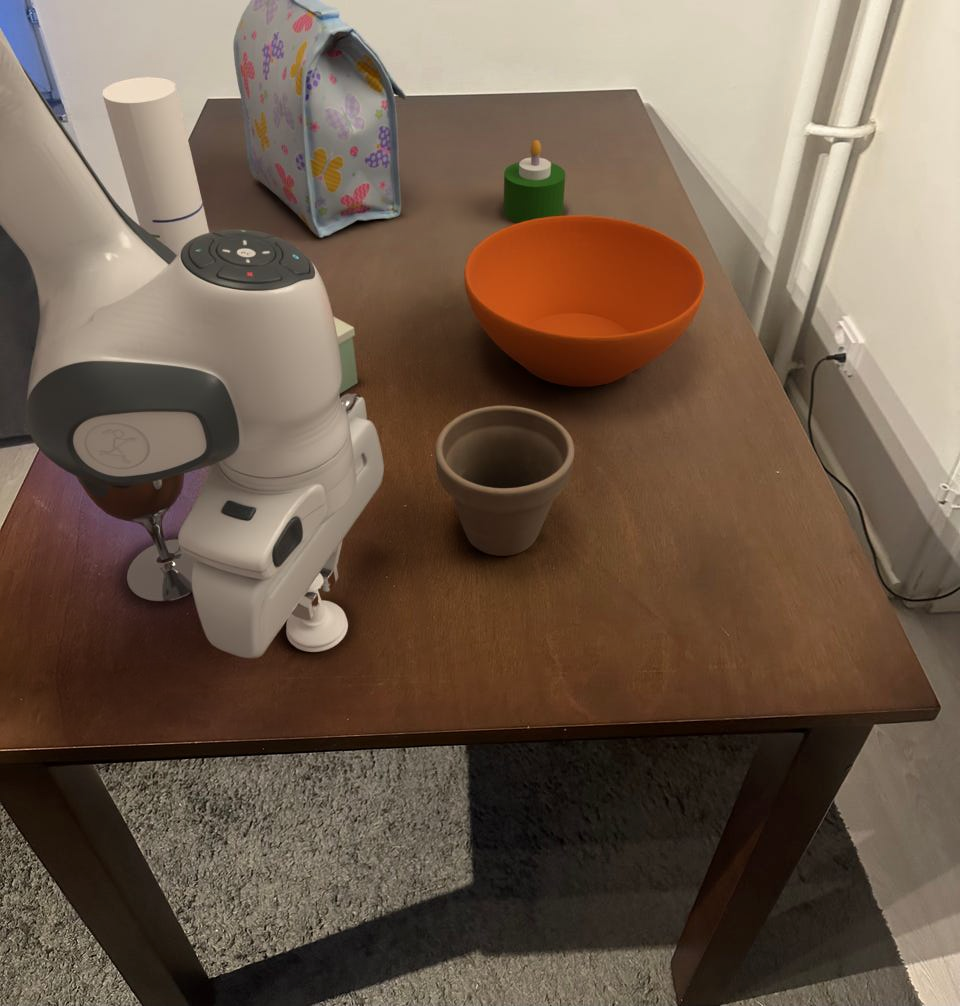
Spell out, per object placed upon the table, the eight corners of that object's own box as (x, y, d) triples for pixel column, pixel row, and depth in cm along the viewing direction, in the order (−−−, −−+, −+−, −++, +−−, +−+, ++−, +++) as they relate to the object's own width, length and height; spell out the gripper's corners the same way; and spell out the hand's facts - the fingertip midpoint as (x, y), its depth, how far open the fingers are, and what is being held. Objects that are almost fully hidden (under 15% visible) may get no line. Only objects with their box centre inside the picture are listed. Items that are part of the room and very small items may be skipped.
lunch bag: (423, 213, 124) (413, 2, 106) (314, 247, 117) (283, 28, 99) (347, 158, 137) (326, -38, 119) (245, 185, 131) (206, -18, 112)
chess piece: (291, 604, 74) (274, 516, 67) (351, 605, 74) (340, 517, 67) (281, 651, 70) (262, 564, 63) (343, 652, 70) (331, 565, 63)
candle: (496, 221, 122) (497, 148, 115) (512, 195, 128) (514, 124, 121) (555, 229, 121) (559, 156, 114) (568, 202, 126) (573, 131, 119)
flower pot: (511, 470, 86) (513, 385, 79) (592, 536, 79) (603, 451, 72) (413, 523, 81) (406, 438, 74) (492, 599, 74) (493, 513, 67)
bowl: (472, 288, 110) (472, 212, 103) (677, 294, 109) (691, 217, 102) (457, 416, 92) (455, 333, 85) (703, 424, 91) (721, 341, 84)
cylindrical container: (217, 322, 104) (165, 103, 87) (157, 322, 104) (92, 102, 87) (230, 290, 109) (183, 77, 92) (172, 290, 110) (115, 77, 92)
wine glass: (185, 523, 81) (142, 389, 70) (234, 569, 77) (196, 436, 66) (104, 569, 77) (45, 435, 66) (152, 621, 73) (96, 487, 62)
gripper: (322, 371, 68) (341, 501, 78) (159, 555, 54) (207, 685, 64) (397, 389, 66) (407, 520, 76) (248, 584, 53) (284, 713, 62)
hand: (315, 597), depth 70 cm, fingers closed on chess piece
